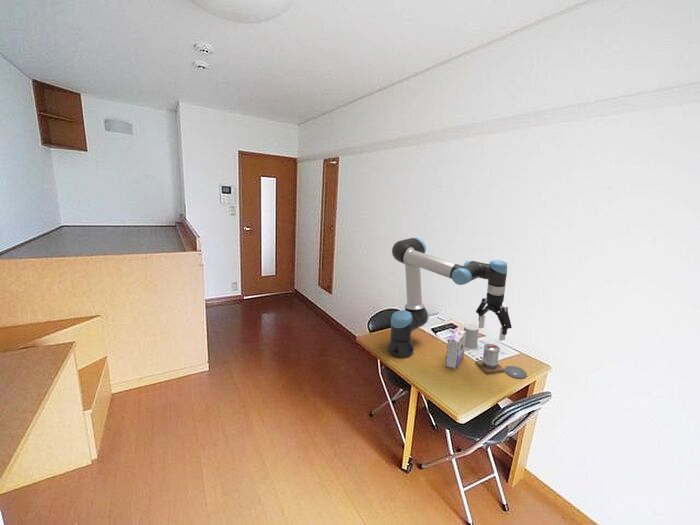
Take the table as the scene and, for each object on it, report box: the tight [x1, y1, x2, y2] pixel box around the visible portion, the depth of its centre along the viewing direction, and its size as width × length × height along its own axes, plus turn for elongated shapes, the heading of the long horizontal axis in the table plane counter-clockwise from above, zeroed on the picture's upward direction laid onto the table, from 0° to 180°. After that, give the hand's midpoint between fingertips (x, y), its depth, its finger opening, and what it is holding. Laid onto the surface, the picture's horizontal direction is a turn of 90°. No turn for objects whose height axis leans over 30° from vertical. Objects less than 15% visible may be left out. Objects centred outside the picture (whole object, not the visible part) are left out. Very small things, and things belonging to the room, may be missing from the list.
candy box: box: [445, 328, 466, 370], centre depth 166 cm, size 14×6×16 cm, turn 145°
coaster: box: [504, 365, 528, 380], centre depth 157 cm, size 10×10×1 cm
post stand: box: [475, 359, 505, 375], centre depth 161 cm, size 10×10×10 cm
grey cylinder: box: [482, 343, 501, 366], centre depth 160 cm, size 7×7×9 cm
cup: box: [463, 323, 480, 350], centre depth 183 cm, size 8×8×12 cm
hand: (491, 333), depth 151 cm, fingers open, 13 cm apart
